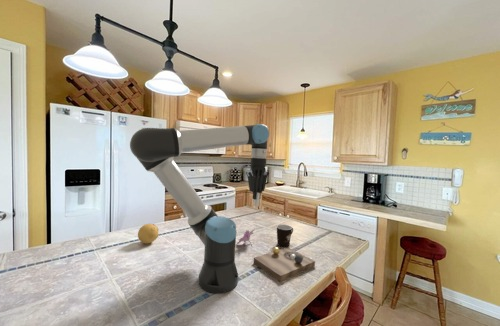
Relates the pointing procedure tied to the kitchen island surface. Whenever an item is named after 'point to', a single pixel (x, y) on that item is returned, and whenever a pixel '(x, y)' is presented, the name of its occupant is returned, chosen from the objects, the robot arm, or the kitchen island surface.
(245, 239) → the lily
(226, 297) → the kitchen island surface
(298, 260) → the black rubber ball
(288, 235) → the coffee mug
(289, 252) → the board
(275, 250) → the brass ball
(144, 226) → the stress ball
